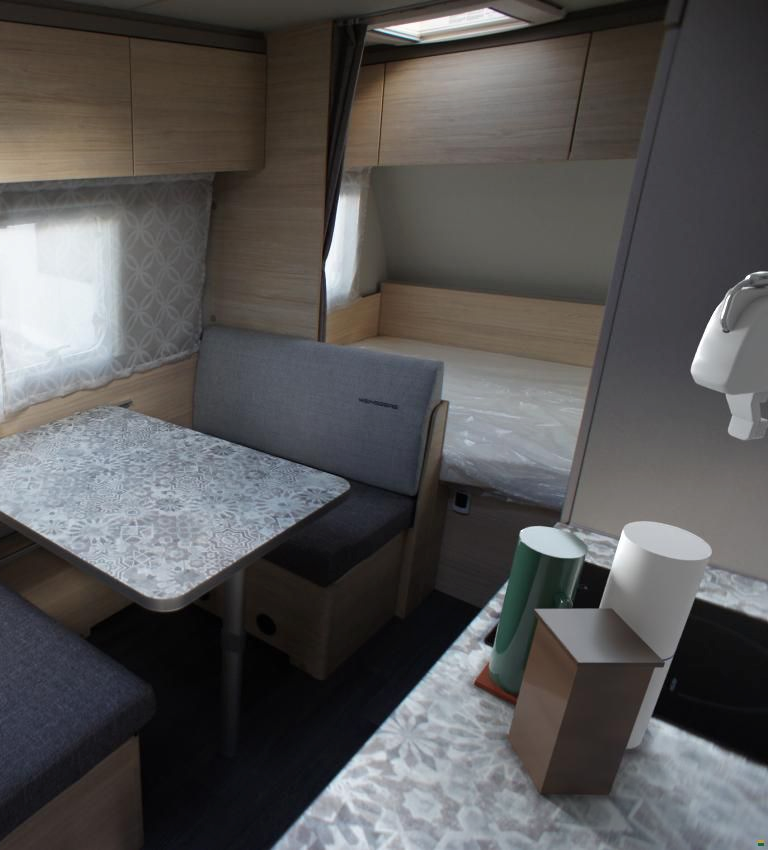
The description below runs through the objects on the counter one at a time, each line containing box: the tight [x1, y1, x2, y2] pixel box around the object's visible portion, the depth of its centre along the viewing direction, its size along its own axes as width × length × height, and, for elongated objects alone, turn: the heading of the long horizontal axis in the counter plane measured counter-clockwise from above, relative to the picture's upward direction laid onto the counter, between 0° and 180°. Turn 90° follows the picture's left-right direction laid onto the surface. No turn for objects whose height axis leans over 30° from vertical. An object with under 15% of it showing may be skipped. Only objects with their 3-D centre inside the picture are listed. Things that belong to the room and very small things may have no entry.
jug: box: [488, 525, 588, 697], centre depth 78 cm, size 8×7×20 cm
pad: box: [473, 660, 518, 706], centre depth 83 cm, size 8×7×1 cm
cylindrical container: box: [598, 520, 713, 750], centre depth 72 cm, size 7×7×25 cm
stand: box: [507, 608, 665, 796], centre depth 69 cm, size 8×8×18 cm
